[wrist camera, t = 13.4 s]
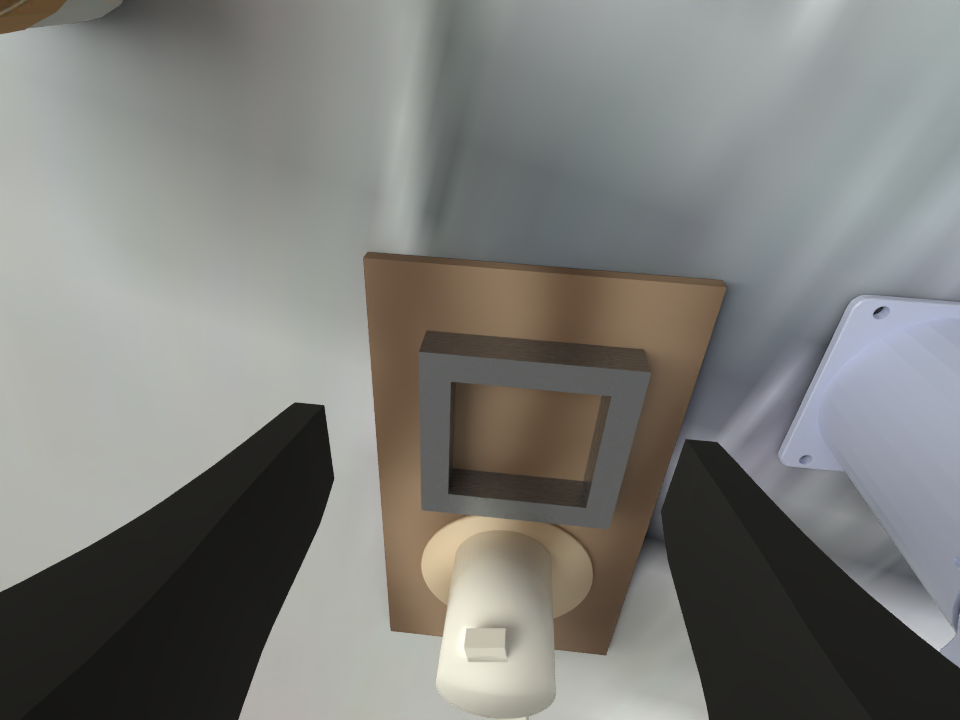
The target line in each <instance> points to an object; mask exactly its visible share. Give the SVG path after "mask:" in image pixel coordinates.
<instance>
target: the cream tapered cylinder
mask: <svg viewBox="0 0 960 720" xmlns="http://www.w3.org/2000/svg"><path fill="white" fill-rule="evenodd" d="M436 686H437V689H438V691H439V693H440V694H441V696H442V697H443V698H444V699H445V700H446V701H447V702H449V703H450V704H452V705H453V706H455V707H457V708H459V709H461V710H463V711H466V712H468V713H471V714H474V715H478V716H483V717H489V718H498V720H529V716H531V715H534V714H537V713H539V712H541V711H543V710H545V709H546V708H547V707H549V706H550V705H551V704H552V702H553V701H554V699H555V695H556V687H555V654H554V622H553V590H552V561H551V557H550V555H549V553H548V551H547V550H546V548H545V547H544V546H543V545H542V544H541V543H539V542H538V541H536V540H535V539H533V538H531V537H529V536H527V535H525V534H522V533H518V532H514V531H508V530H490V531H484V532H480V533H477V534H474V535H472V536H470V537H468V538H467V539H466V540H464V541H463V542H462V543H461V544H460V545H459V547H458V548H457V550H456V553H455V559H454V566H453V572H452V579H451V586H450V592H449V599H448V606H447V612H446V619H445V626H444V632H443V639H442V646H441V652H440V659H439V666H438V672H437V679H436Z"/></svg>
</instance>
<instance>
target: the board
mask: <svg viewBox="0 0 960 720" xmlns="http://www.w3.org/2000/svg"><path fill="white" fill-rule="evenodd" d="M363 261H364V275H365V288H366V302H367V316H368V329H369V343H370V356H371V370H372V383H373V397H374V411H375V424H376V438H377V451H378V465H379V479H380V492H381V506H382V519H383V533H384V546H385V560H386V574H387V587H388V601H389V614H390V628H391V631H396V632H405V633H414V634H423V635H432V636H441V637H443V632H444V626H445V619H446V612H447V605H446V604H444V603H443V602H442V601H440V600H439V599H438V598H437V597H436V596H435V595H434V594H433V593H432V592H431V590H430V589H429V587H428V586H427V584H426V582H425V580H424V578H423V574H422V568H421V562H422V556H423V552H424V549H425V546H426V544H427V542H428V541H429V539H430V538H431V537H432V536H433V534H434V533H436V532H437V531H438V530H439V529H440V528H442V527H443V526H445V525H446V524H448V523H450V522H452V521H454V520H456V519H459V518H461V517H464V516H467V515H463V514H453V513H444V512H434V511H424V510H421V462H420V397H419V350H420V347H421V344H422V341H423V338H424V336H425V333H426V330H427V331H439V332H451V333H462V334H474V335H485V336H497V337H508V338H520V339H531V340H543V341H555V342H566V343H578V344H589V345H601V346H612V347H624V348H635V349H644V351H645V354H646V357H647V360H648V363H649V366H650V369H651V372H652V373H651V376H650V380H649V384H648V387H647V391H646V395H645V398H644V402H643V406H642V410H641V413H640V417H639V421H638V424H637V428H636V432H635V435H634V439H633V443H632V447H631V450H630V454H629V458H628V461H627V465H626V469H625V472H624V476H623V480H622V484H621V487H620V491H619V495H618V498H617V502H616V506H615V509H614V513H613V517H612V521H611V524H610V528H609V529H600V528H590V527H580V526H570V525H561V524H557V525H559V526H561V527H562V528H564V529H565V530H567V531H568V532H570V533H571V534H572V535H574V536H575V537H576V538H577V539H578V540H579V541H580V542H581V543H582V545H583V546H584V547H585V549H586V550H587V552H588V554H589V556H590V559H591V563H592V569H593V580H592V585H591V588H590V591H589V592H588V594H587V596H586V597H585V598H584V600H583V601H582V602H581V603H580V604H579V605H577V606H576V607H575V608H574V609H572V610H571V611H569V612H567V613H566V614H563V615H561V616H559V617H557V618H554V619H553V622H554V649H555V650H564V651H573V652H582V653H590V654H599V655H606V654H607V651H608V648H609V645H610V642H611V639H612V636H613V633H614V629H615V626H616V623H617V620H618V617H619V614H620V611H621V608H622V605H623V602H624V599H625V596H626V593H627V590H628V587H629V584H630V581H631V578H632V575H633V572H634V569H635V566H636V563H637V559H638V556H639V553H640V550H641V547H642V544H643V541H644V538H645V535H646V532H647V529H648V526H649V523H650V520H651V517H652V514H653V511H654V508H655V505H656V502H657V499H658V496H659V493H660V489H661V486H662V483H663V480H664V477H665V474H666V471H667V468H668V465H669V462H670V459H671V456H672V453H673V450H674V447H675V444H676V441H677V438H678V435H679V432H680V429H681V426H682V422H683V419H684V416H685V413H686V410H687V407H688V404H689V401H690V398H691V395H692V392H693V389H694V386H695V383H696V380H697V377H698V374H699V371H700V368H701V365H702V362H703V359H704V356H705V352H706V349H707V346H708V343H709V340H710V337H711V334H712V331H713V328H714V325H715V322H716V319H717V316H718V313H719V310H720V307H721V304H722V301H723V298H724V295H725V292H726V289H727V287H726V285H725V284H724V282H723V281H722V280H712V279H700V278H687V277H675V276H662V275H650V274H637V273H625V272H612V271H600V270H587V269H575V268H562V267H550V266H537V265H525V264H512V263H500V262H487V261H475V260H462V259H450V258H437V257H425V256H412V255H400V254H387V253H375V252H367V253H366V255H365V256H364V258H363ZM601 396H602V395H591V394H580V393H569V392H558V391H547V390H536V389H525V388H514V387H503V386H492V385H481V384H470V383H459V382H455V414H454V448H453V468H456V469H466V470H476V471H486V472H496V473H506V474H517V475H527V476H537V477H547V478H557V479H567V480H577V481H583V480H584V475H585V471H586V466H587V462H588V457H589V452H590V448H591V443H592V438H593V434H594V429H595V424H596V420H597V415H598V410H599V406H600V401H601Z"/></svg>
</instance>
